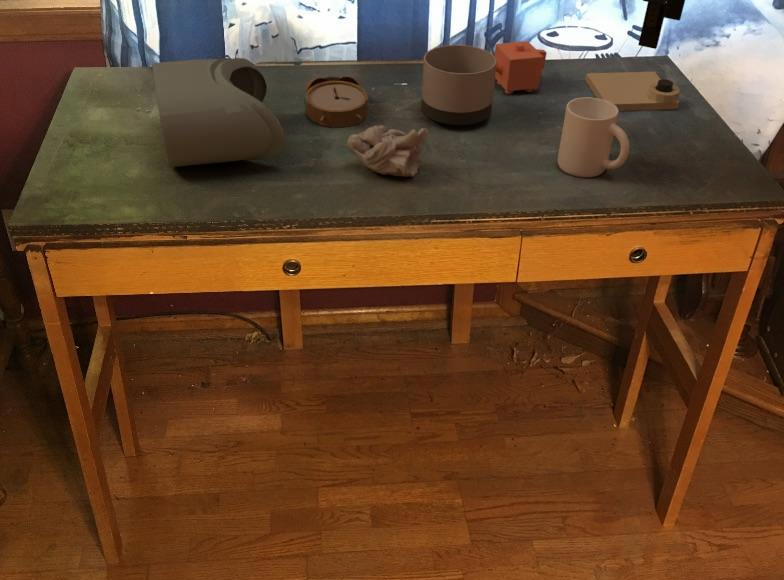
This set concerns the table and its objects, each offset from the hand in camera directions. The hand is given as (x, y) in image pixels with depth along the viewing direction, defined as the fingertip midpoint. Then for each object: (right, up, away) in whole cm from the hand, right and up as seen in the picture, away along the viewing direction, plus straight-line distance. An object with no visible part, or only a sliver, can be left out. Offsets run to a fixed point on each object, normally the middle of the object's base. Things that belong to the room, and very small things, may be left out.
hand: (659, 32), depth 135 cm
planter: (-30, -6, +23) cm, 38 cm away
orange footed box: (-18, +3, +33) cm, 38 cm away
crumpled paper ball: (-42, -20, +8) cm, 47 cm away
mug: (-9, -20, +9) cm, 23 cm away
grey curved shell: (-71, -15, +13) cm, 74 cm away
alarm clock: (-52, -4, +24) cm, 58 cm away
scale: (+4, +1, +31) cm, 31 cm away
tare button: (+9, 0, +26) cm, 28 cm away
